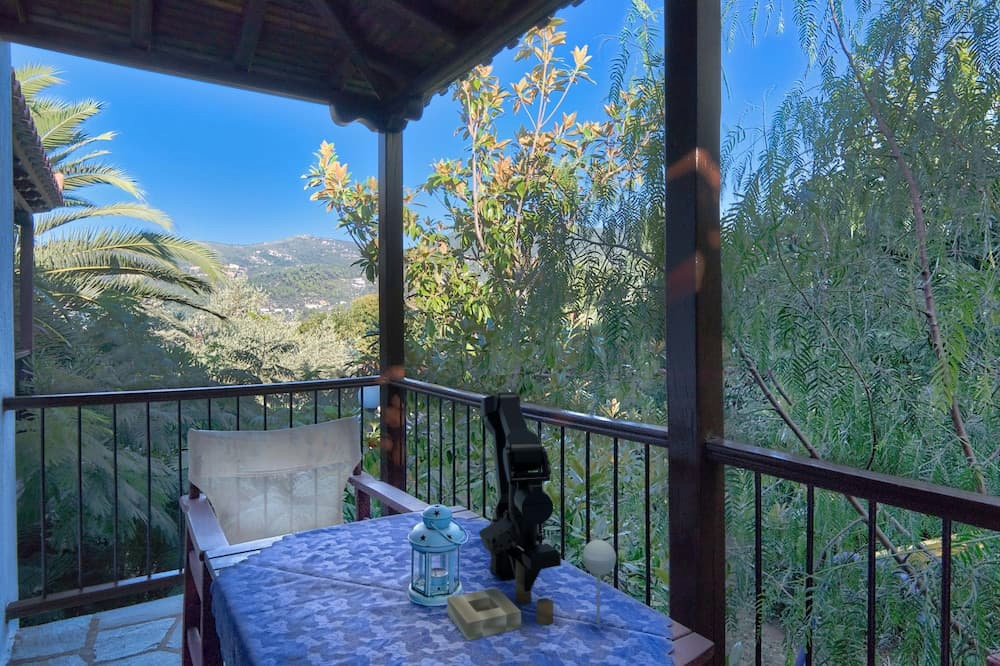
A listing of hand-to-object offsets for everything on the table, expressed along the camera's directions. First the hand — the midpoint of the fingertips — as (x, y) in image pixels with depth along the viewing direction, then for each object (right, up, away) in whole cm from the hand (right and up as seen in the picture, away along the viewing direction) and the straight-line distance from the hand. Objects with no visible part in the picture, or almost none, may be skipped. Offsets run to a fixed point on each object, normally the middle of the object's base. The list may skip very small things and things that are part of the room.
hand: (523, 587), depth 117 cm
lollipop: (+13, -3, -9) cm, 16 cm away
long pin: (0, -3, 0) cm, 2 cm away
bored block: (-7, -3, -8) cm, 11 cm away
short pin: (+4, -3, -8) cm, 9 cm away
